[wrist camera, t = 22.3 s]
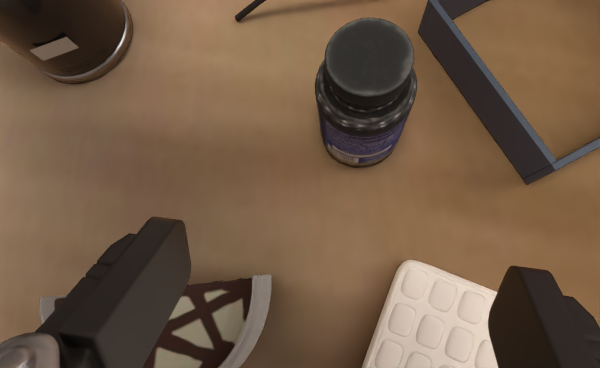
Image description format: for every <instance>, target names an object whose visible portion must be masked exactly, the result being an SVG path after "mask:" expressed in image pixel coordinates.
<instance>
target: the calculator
mask: <svg viewBox="0 0 600 368" xmlns="http://www.w3.org/2000/svg"><path fill="white" fill-rule="evenodd" d="M496 295H497V292H496V291H493V290H491V289H488V288H486V287H483V286H481V285H478V284H476V283H473V282H471V281H468V280H466V279H463V278H461V277H458V276H456V275H453V274H451V273H448V272H446V271H443V270H441V269H438V268H436V267H433V266H430V265H428V264H425V263H422V262H419V261H414V260H407V261H404V262H403V263H402V264H401V265H400V266H399V268H398V270H397V272H396V274H395V276H394V279H393V281H392V284H391V287H390V290H389V292H388V295H387V298H386V301H385V303H384V306H383V309H382V312H381V315H380V317H379V320H378V323H377V326H376V329H375V331H374V334H373V337H372V340H371V343H370V345H369V348H368V351H367V354H366V356H365V359H364V362H363V365H362V368H498V365H497V361H496V357H495V354H494V350H493V347H492V343H491V340H490V336H489V330H488V318H489V312H490V309H491V306H492V304H493V302H494V299H495V297H496Z"/></svg>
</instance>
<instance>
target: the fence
mask: <svg viewBox="0 0 600 368" xmlns="http://www.w3.org/2000/svg"><path fill="white" fill-rule="evenodd" d="M486 1H488V0H428V2H427V5H426V8H425V11H424V14H423V18H422V21H421V24H420V27H419V30H418V33H419V34H420V35H421V37H422V38H423V40H424V41H425V42H426V44H427V45H428V47H429V48H430V49H431V51H432V52H433V54H434V55H435V56H436V58H437V59H438V61H439V62H440V63H441V65H442V66H443V68H444V69H445V70H446V72H447V73H448V75H449V76H450V77H451V79H452V80H453V82H454V83H455V84H456V86H457V87H458V89H459V90H460V91H461V93H462V94H463V96H464V97H465V98H466V100H467V101H468V103H469V104H470V105H471V107H472V108H473V110H474V111H475V112H476V114H477V115H478V117H479V118H480V119H481V121H482V122H483V124H484V125H485V126H486V128H487V129H488V131H489V132H490V133H491V135H492V136H493V138H494V139H495V140H496V142H497V143H498V145H499V146H500V147H501V149H502V150H503V152H504V153H505V154H506V156H507V157H508V159H509V160H510V161H511V163H512V164H513V166H514V167H515V168H516V170H517V171H518V173H519V174H520V175H521V177H522V178H523V179H524V181H525V182H526V184H527V185H528V184H530V183H532V182H534V181H536V180H538V179H540V178H542V177H544V176H546V175H548V174H550V173H552V172H554V171H556V170H558V169H560V168H562V167H564V166H566V165H567V164H569V163H571V162H573V161H575V160H577V159H578V158H580V157H582V156H584V155H586V154H588V153H589V152H591V151H593V150H595V149H597V148H598V147H600V137H599V138H597V139H596V140H594V141H592V142H590V143H588V144H586V145H585V146H583V147H581V148H579V149H577V150H575V151H574V152H572V153H570V154H568V155H566V156H564V157H563V158H561V159H559V160H556V158H555V157H554V156H553V154H552V153H551V152H550V150H549V149H548V148H547V146H546V145H545V144H544V142H543V141H542V140H541V138H540V137H539V136H538V134H537V133H536V132H535V130H534V129H533V128H532V126H531V125H530V124H529V122H528V121H527V120H526V118H525V117H524V116H523V114H522V113H521V112H520V110H519V109H518V108H517V106H516V105H515V104H514V102H513V101H512V100H511V98H510V97H509V96H508V94H507V93H506V92H505V90H504V89H503V88H502V86H501V85H500V84H499V82H498V81H497V80H496V78H495V77H494V76H493V74H492V73H491V72H490V70H489V69H488V68H487V66H486V65H485V64H484V62H483V61H482V60H481V58H480V57H479V56H478V54H477V53H476V52H475V50H474V49H473V48H472V46H471V45H470V44H469V42H468V41H467V40H466V38H465V37H464V36H463V34H462V33H461V32H460V30H459V29H458V28H457V26H456V25H455V24H454V22H453V21H452V19H454V18H456V17H457V16H459V15H461V14H463V13H465V12H467V11H469V10H471V9H473V8H474V7H476V6H478V5H480V4H482V3H484V2H486Z"/></svg>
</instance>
